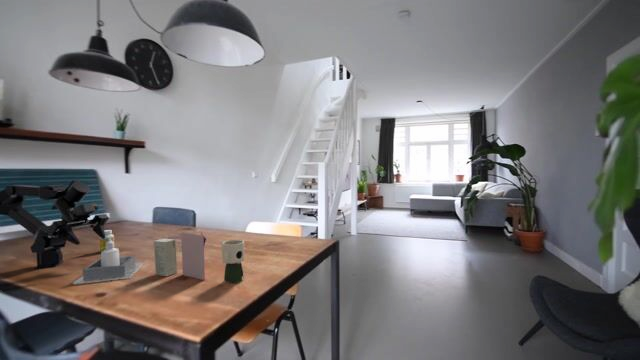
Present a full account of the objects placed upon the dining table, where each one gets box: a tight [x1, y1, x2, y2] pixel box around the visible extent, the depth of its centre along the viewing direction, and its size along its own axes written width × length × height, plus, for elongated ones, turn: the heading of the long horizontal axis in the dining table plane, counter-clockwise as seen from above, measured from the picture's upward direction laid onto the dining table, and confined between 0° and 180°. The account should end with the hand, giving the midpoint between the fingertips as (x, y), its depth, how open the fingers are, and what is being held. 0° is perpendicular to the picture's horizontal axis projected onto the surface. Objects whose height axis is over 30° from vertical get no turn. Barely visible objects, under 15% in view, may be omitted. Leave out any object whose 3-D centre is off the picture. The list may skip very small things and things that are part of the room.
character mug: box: [221, 239, 246, 283], centre depth 95 cm, size 11×7×13 cm, turn 171°
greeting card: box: [181, 229, 207, 281], centre depth 99 cm, size 11×7×15 cm, turn 26°
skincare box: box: [153, 238, 178, 277], centre depth 102 cm, size 6×4×12 cm
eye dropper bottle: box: [100, 239, 120, 267], centre depth 103 cm, size 4×6×12 cm
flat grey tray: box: [72, 255, 144, 286], centre depth 103 cm, size 16×16×4 cm
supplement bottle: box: [99, 229, 116, 253], centre depth 132 cm, size 5×5×10 cm
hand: (92, 240), depth 107 cm, fingers open, 9 cm apart
